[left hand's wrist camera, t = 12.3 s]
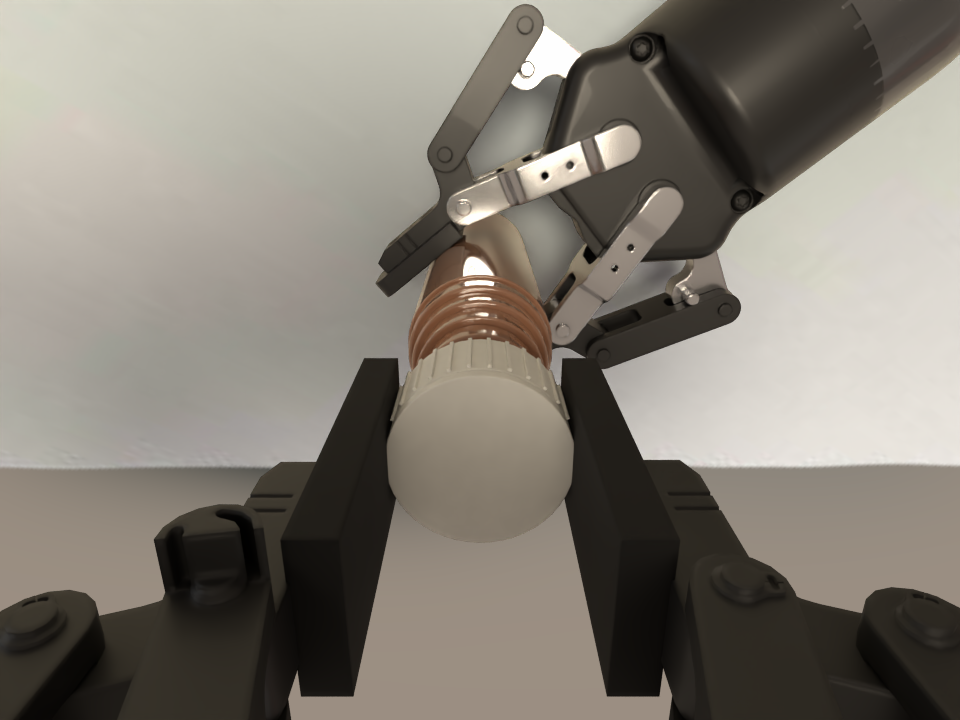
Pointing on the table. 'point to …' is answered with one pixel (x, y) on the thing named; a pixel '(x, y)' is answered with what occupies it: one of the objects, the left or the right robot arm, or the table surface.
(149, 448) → the table surface
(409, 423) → the cap
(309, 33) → the table surface
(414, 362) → the bottle
